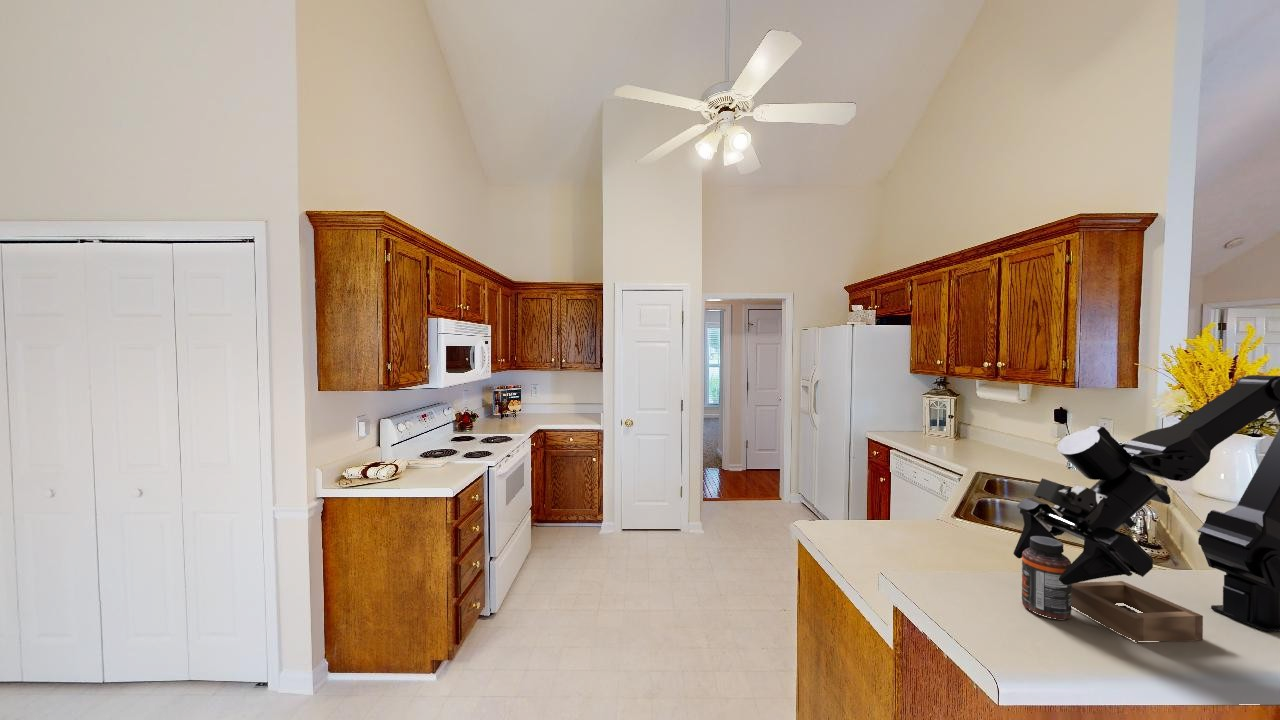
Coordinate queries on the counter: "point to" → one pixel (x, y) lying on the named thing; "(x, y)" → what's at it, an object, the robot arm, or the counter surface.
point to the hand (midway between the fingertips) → (1037, 568)
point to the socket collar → (1151, 625)
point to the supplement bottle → (1045, 578)
